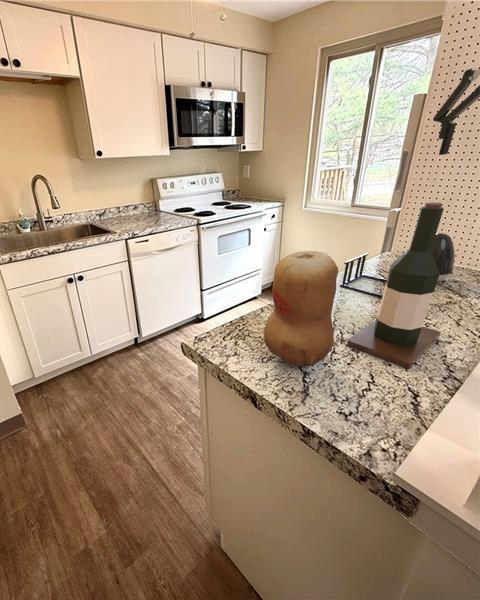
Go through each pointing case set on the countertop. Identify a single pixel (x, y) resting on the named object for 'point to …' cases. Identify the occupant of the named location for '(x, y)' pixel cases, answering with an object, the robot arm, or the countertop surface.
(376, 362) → the countertop surface
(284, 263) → the butternut squash
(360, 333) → the cutting board
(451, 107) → the robot arm
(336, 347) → the countertop surface
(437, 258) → the pump dispenser
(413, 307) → the wine bottle
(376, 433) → the countertop surface
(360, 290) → the dish rack
